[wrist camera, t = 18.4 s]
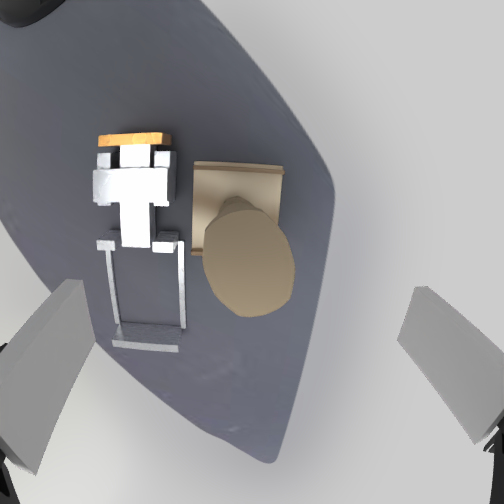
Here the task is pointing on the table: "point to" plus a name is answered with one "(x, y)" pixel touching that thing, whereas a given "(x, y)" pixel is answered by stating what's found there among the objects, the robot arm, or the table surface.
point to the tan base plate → (232, 192)
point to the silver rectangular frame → (137, 332)
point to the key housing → (135, 180)
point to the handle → (247, 259)
